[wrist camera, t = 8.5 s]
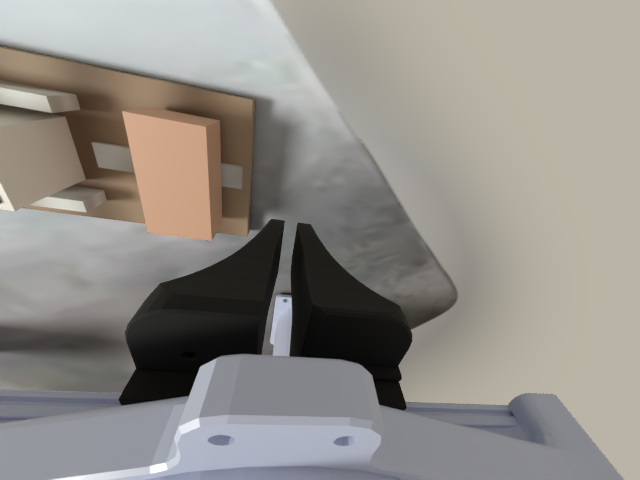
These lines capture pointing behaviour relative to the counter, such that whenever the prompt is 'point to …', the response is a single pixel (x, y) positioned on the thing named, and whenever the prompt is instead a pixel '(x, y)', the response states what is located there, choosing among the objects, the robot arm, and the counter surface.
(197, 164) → the peach rectangular block
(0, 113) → the block
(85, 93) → the rail board
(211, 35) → the counter surface
